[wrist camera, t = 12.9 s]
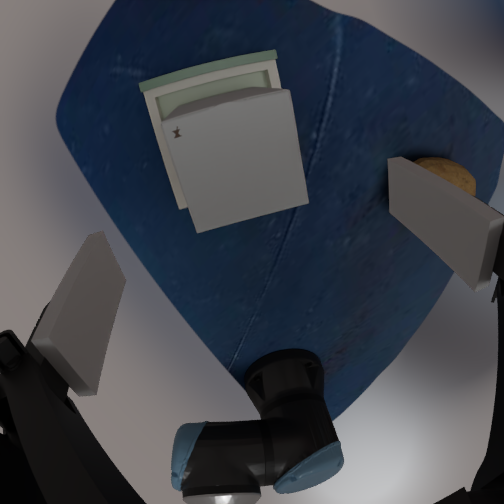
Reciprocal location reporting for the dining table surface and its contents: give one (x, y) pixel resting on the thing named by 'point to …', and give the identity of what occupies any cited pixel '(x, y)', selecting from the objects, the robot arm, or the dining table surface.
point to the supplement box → (236, 155)
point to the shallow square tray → (204, 92)
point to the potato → (449, 172)
